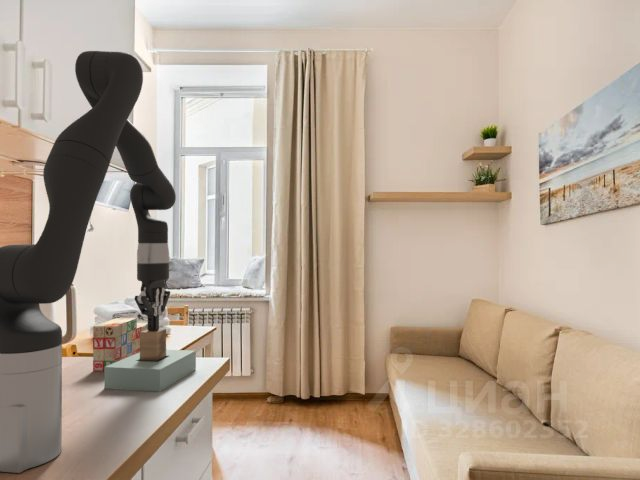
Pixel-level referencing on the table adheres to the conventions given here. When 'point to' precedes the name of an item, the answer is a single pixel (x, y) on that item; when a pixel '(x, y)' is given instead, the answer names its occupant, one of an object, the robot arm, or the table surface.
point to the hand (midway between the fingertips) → (153, 330)
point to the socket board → (149, 371)
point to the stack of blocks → (116, 341)
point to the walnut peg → (153, 345)
